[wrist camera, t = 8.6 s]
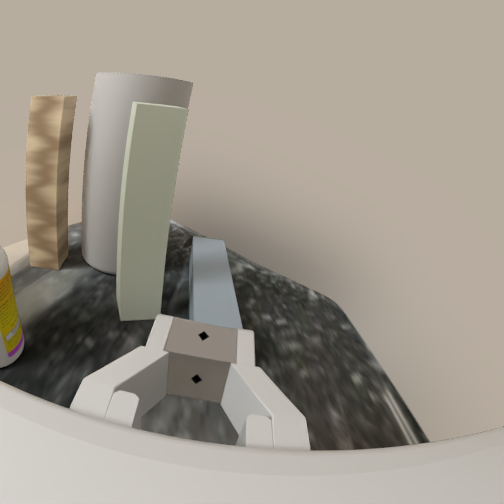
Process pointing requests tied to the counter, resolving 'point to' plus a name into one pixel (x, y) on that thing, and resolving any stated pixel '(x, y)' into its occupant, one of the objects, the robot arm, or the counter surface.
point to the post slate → (211, 285)
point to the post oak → (48, 178)
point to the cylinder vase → (115, 155)
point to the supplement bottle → (8, 317)
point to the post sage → (147, 206)
